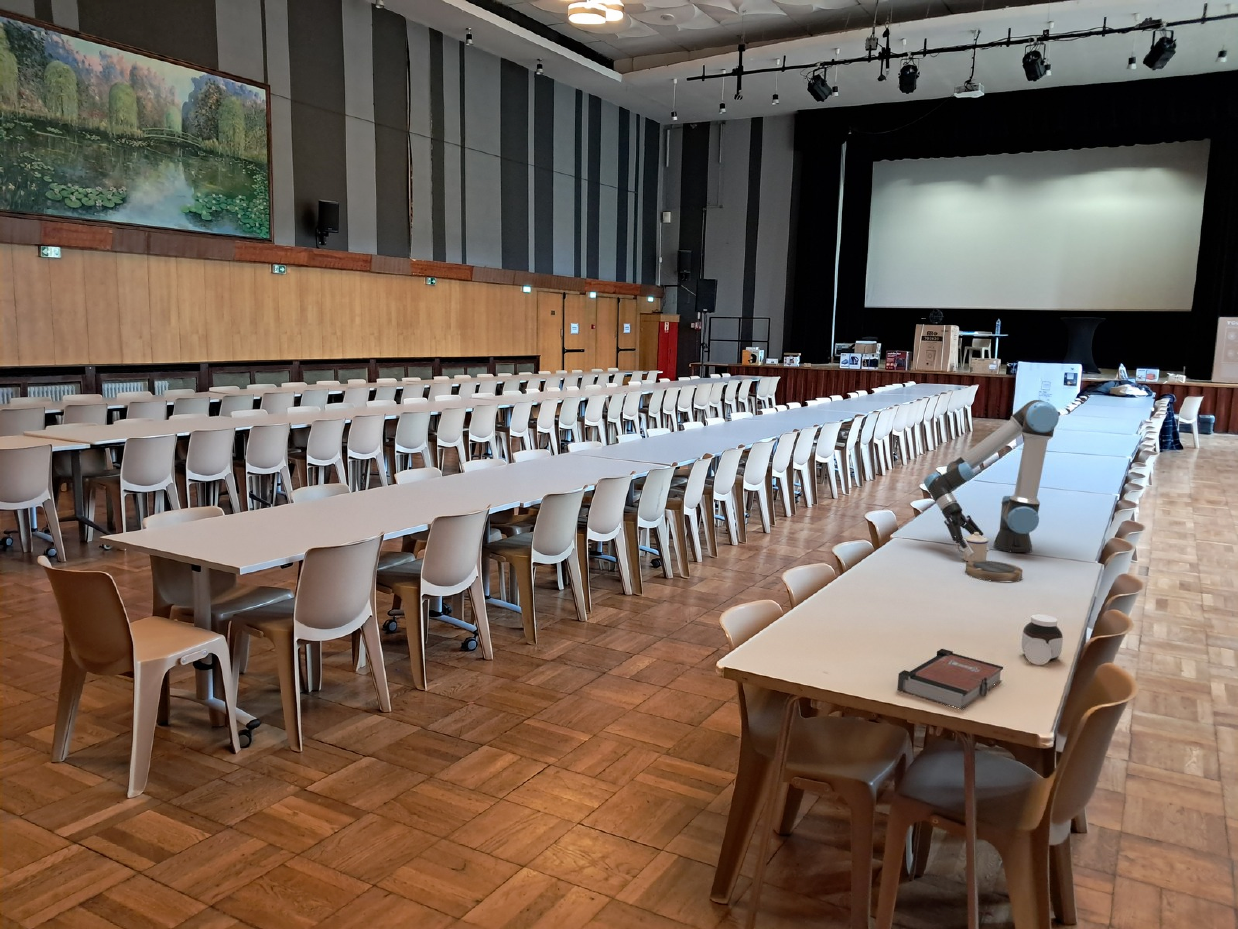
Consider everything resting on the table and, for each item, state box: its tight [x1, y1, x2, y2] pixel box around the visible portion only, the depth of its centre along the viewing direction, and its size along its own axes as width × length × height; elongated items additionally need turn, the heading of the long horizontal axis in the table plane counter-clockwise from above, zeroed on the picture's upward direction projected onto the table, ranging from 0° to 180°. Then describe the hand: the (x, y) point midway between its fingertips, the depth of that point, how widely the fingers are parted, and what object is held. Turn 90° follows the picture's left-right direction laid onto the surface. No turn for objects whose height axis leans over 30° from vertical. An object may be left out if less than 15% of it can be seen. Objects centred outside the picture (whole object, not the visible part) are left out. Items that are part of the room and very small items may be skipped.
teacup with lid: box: [956, 532, 989, 563], centre depth 365 cm, size 12×9×12 cm
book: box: [897, 648, 1004, 711], centre depth 235 cm, size 26×18×5 cm
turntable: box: [964, 560, 1024, 582], centre depth 344 cm, size 20×20×3 cm
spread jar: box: [1021, 613, 1064, 666], centre depth 255 cm, size 12×11×12 cm
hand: (978, 553), depth 363 cm, fingers closed on teacup with lid, 9 cm apart
